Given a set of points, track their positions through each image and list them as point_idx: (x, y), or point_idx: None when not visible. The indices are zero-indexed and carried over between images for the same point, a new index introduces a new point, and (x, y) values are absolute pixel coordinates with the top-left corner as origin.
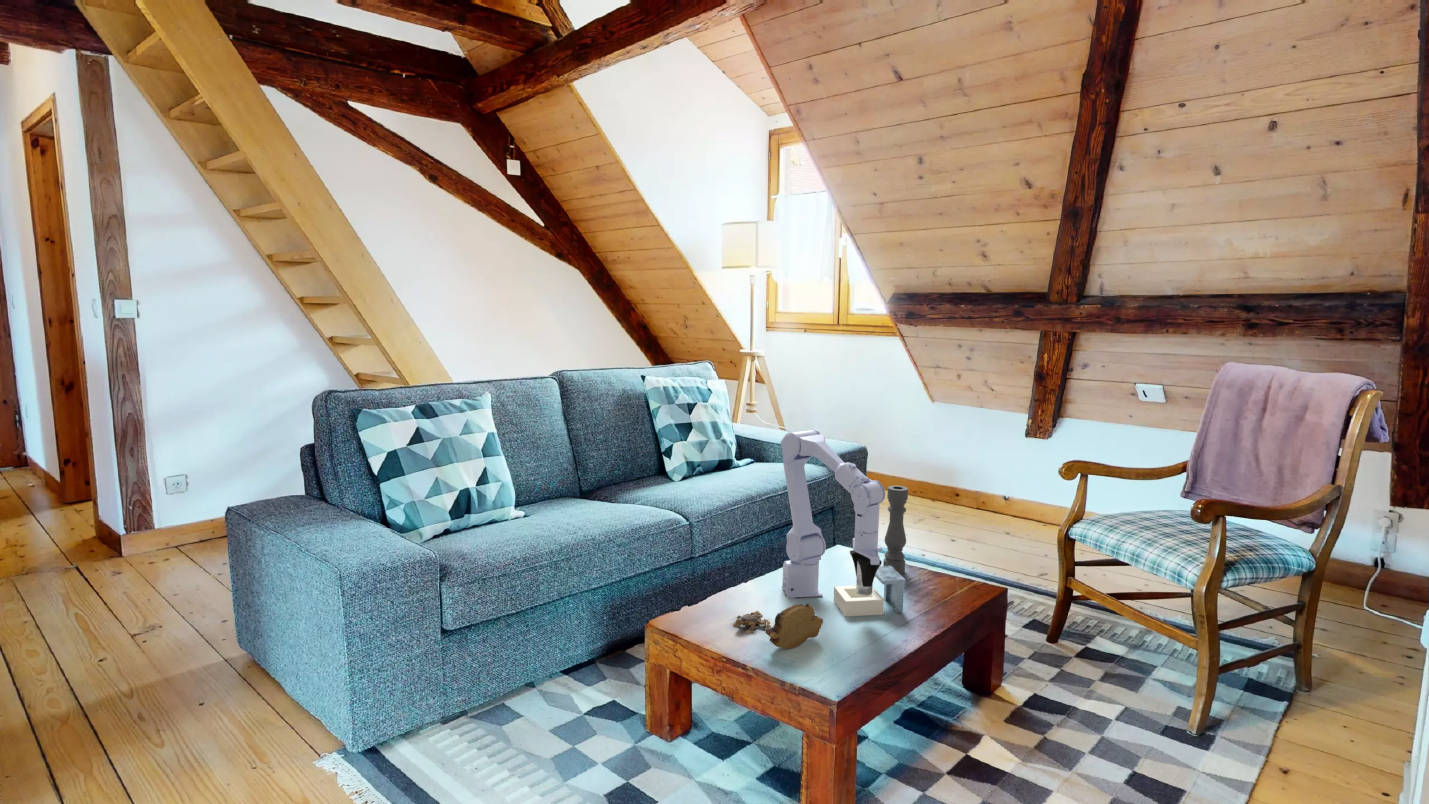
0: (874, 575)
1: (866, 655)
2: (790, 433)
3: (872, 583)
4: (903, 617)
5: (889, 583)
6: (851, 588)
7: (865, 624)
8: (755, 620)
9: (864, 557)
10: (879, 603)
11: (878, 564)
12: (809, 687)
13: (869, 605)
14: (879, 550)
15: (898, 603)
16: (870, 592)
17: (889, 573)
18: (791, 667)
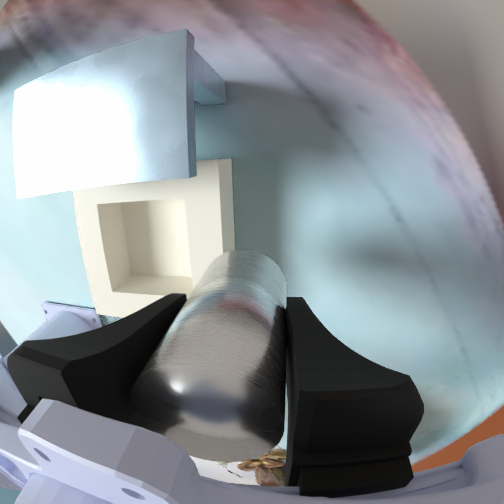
0: (327, 332)
1: (475, 310)
2: None
3: (305, 302)
4: (264, 91)
5: (193, 132)
6: (104, 262)
7: (308, 252)
8: (279, 475)
9: (119, 402)
10: (223, 179)
11: (500, 440)
12: (495, 408)
13: (226, 223)
14: (196, 473)
15: (217, 92)
16: (281, 274)
17: (84, 108)
18: (441, 431)
